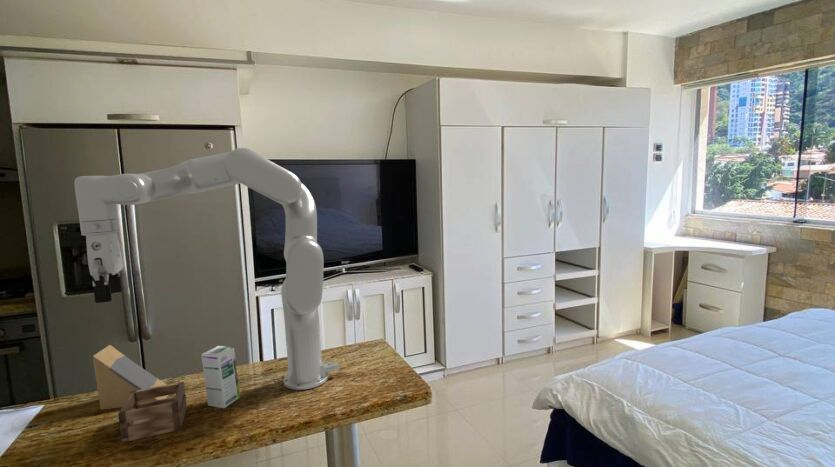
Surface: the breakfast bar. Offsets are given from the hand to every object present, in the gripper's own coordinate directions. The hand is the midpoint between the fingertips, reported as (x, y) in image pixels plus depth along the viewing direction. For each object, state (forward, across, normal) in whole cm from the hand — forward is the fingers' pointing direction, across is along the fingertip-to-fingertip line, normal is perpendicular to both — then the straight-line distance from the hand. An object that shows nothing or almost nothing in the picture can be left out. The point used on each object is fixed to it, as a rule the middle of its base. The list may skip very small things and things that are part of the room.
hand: (109, 297), depth 108 cm
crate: (+31, -7, -8) cm, 33 cm away
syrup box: (+31, -3, -23) cm, 39 cm away
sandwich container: (+32, +10, -1) cm, 33 cm away
